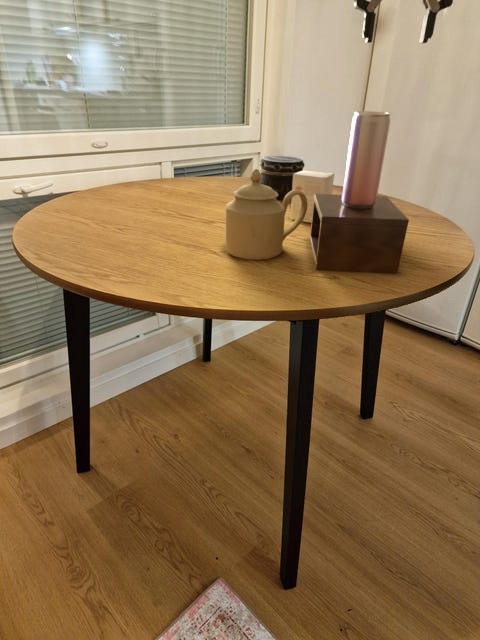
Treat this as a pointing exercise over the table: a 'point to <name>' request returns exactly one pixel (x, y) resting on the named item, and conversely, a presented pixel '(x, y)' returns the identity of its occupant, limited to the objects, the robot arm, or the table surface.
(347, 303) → the table surface
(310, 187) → the small box
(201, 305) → the table surface
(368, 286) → the table surface
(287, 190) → the container
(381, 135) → the beverage can
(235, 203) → the sugar bowl
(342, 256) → the open-ended wooden box
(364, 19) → the robot arm
